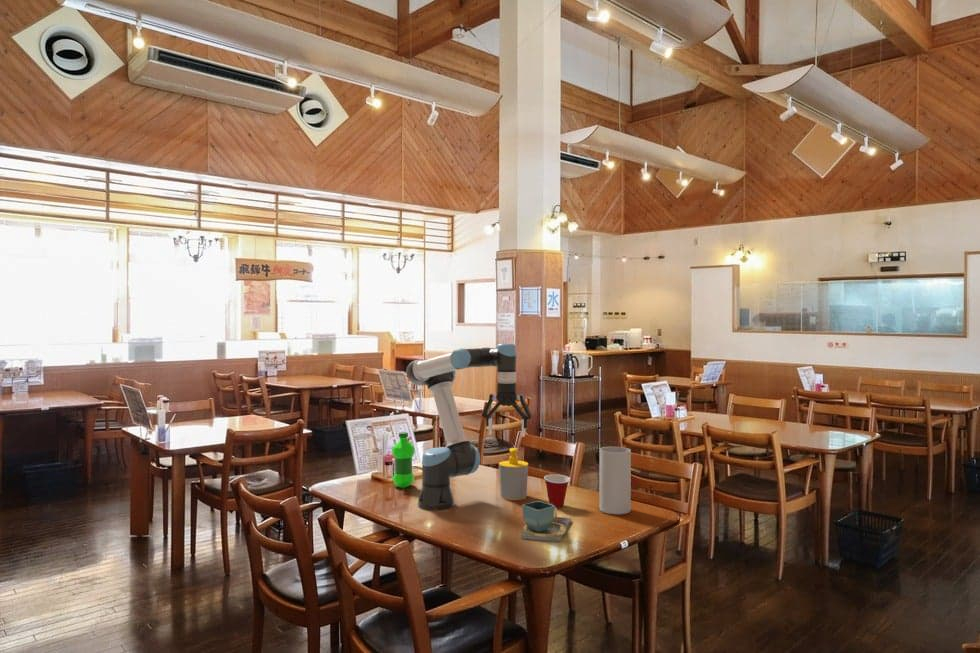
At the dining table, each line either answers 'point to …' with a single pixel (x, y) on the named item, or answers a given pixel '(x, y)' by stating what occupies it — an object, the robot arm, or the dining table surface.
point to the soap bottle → (513, 477)
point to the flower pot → (538, 515)
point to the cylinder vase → (615, 480)
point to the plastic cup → (556, 489)
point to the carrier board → (549, 530)
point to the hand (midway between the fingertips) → (506, 435)
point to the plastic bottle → (403, 461)
